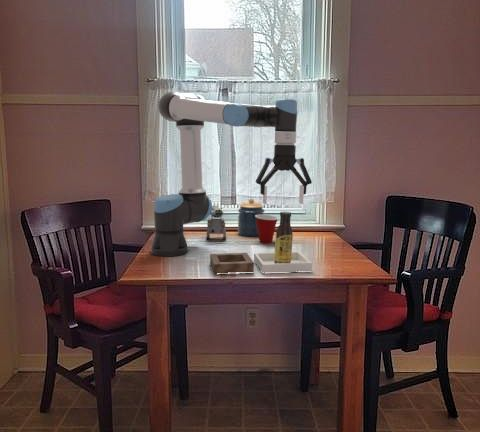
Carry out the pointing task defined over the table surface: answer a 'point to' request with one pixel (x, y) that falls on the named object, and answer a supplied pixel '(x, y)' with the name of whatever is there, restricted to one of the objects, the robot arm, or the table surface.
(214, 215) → the figurine
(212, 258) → the walnut holder
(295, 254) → the plastic tray
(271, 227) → the plastic cup
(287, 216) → the sauce bottle
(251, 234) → the canister
